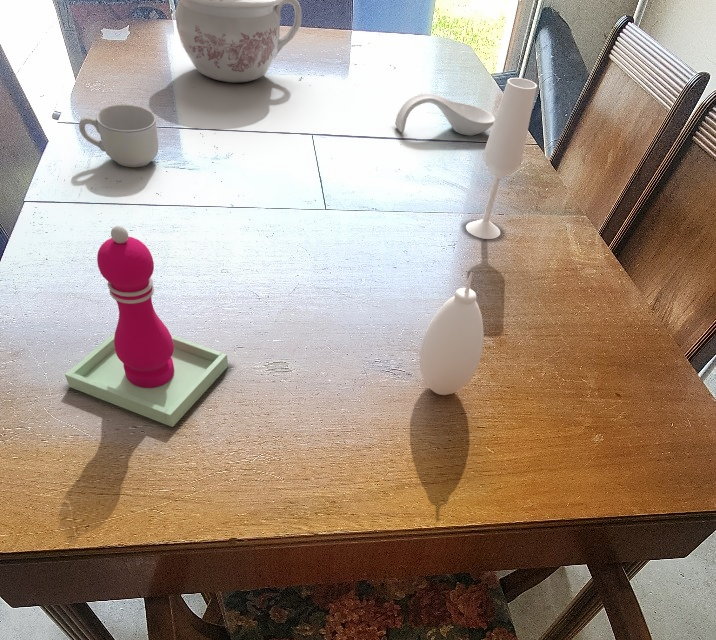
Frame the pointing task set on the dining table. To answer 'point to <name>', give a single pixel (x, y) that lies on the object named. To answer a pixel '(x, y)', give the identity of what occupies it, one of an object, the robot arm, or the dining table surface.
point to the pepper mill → (136, 311)
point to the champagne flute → (505, 145)
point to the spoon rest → (450, 114)
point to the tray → (162, 403)
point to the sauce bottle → (453, 343)
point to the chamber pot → (233, 36)
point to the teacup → (125, 134)
